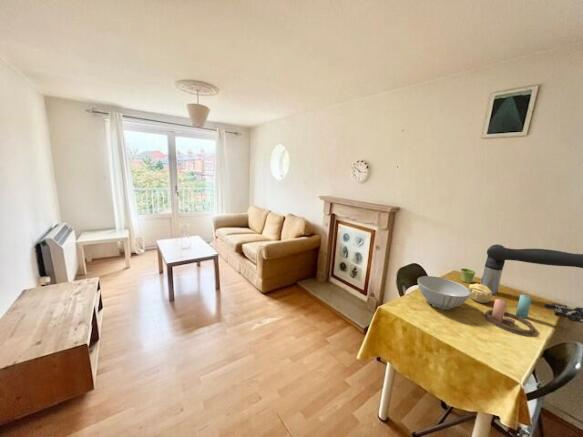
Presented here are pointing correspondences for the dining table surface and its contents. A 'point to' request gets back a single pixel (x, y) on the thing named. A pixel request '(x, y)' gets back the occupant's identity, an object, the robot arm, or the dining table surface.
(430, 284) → the decorative bowl
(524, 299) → the teal cylinder
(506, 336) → the dining table surface
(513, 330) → the brown ring
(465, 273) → the plant pot
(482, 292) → the sculpture
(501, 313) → the pink cylinder
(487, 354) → the dining table surface
